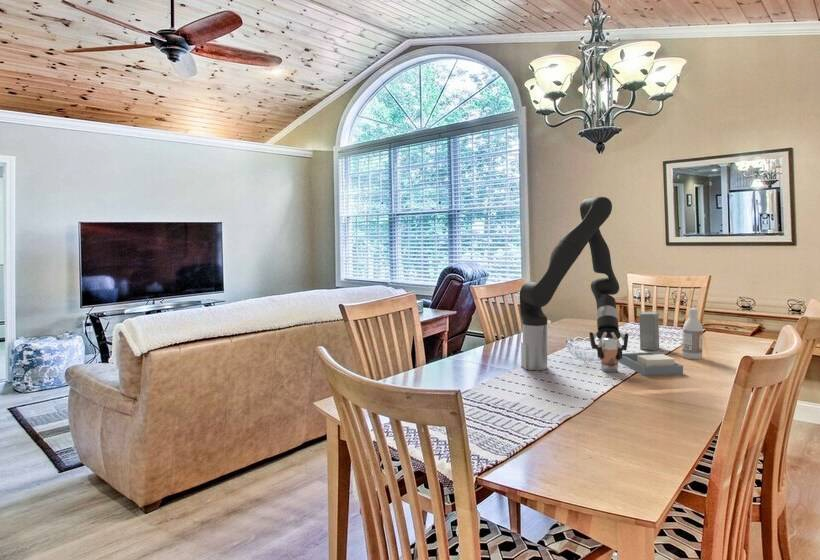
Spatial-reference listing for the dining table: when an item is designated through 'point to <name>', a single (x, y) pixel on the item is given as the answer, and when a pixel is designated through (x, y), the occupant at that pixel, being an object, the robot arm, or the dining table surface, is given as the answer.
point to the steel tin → (609, 355)
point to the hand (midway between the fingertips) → (610, 358)
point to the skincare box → (649, 330)
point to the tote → (631, 362)
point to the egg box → (655, 360)
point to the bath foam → (692, 336)
